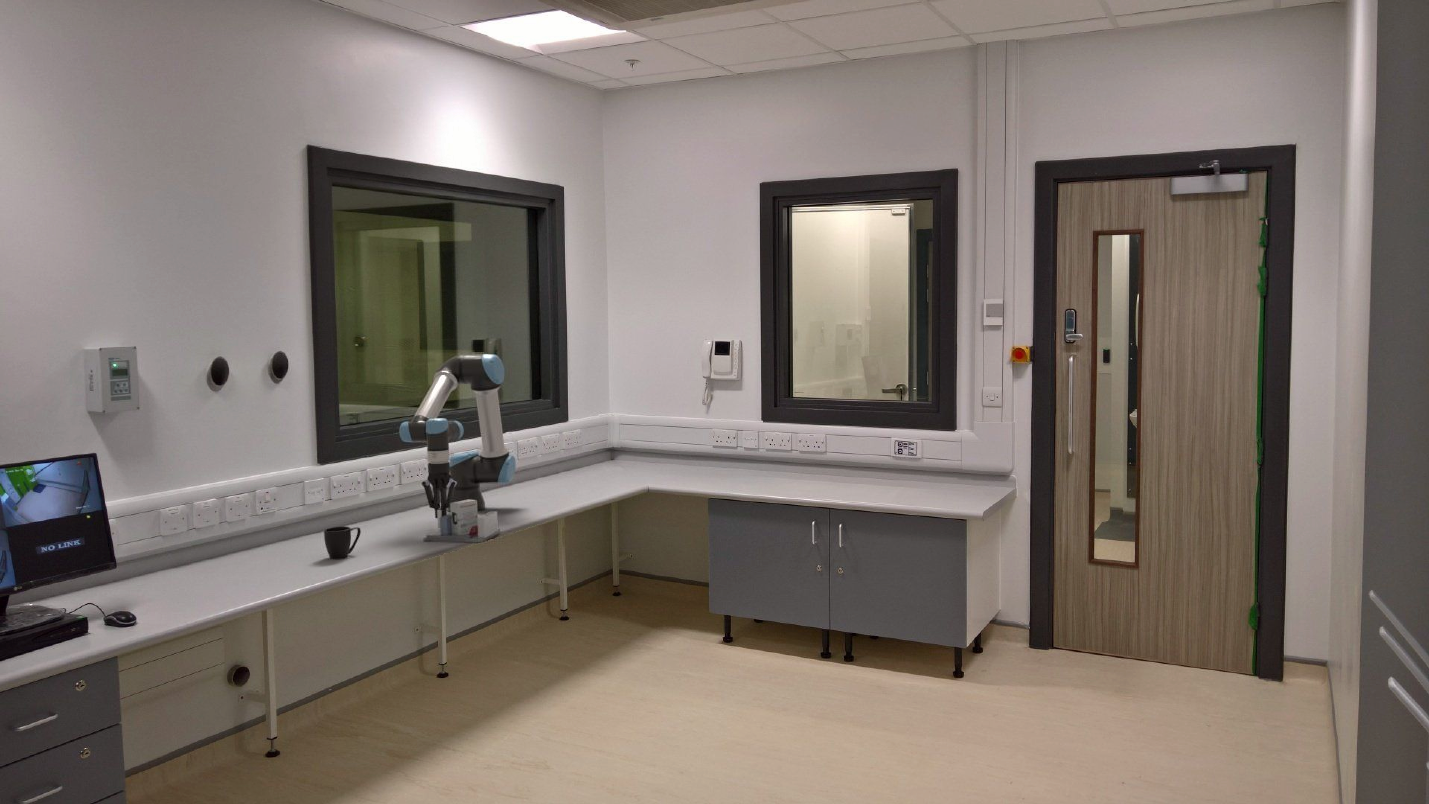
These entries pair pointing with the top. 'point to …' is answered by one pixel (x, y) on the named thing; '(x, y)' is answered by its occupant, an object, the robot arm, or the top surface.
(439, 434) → the robot arm
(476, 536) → the base
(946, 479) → the top surface
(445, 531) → the block
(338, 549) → the mug
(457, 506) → the ink box
